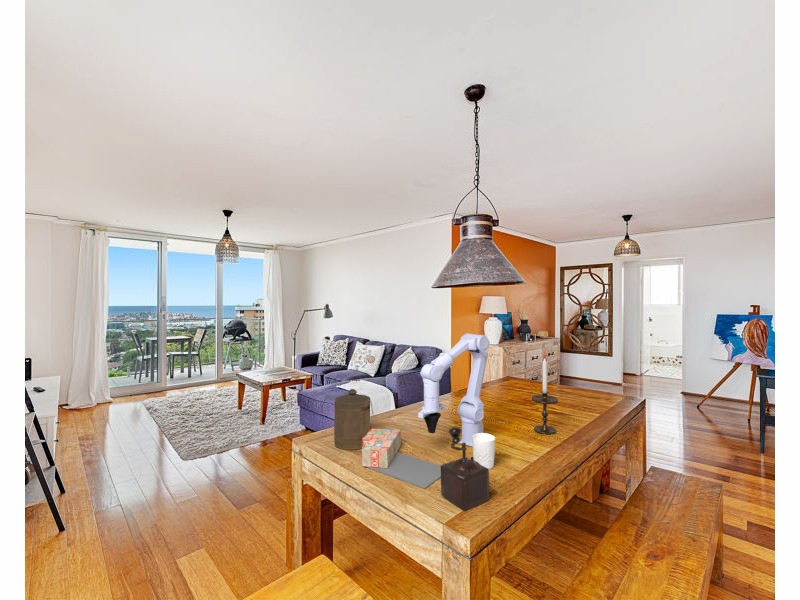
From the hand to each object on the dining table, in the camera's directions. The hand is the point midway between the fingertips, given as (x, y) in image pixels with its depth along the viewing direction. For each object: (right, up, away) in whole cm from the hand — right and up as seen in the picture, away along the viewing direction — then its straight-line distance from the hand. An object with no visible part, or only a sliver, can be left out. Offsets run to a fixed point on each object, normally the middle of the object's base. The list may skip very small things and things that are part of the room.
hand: (431, 432), depth 143 cm
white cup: (+18, -9, -9) cm, 22 cm away
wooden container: (-31, -9, +12) cm, 35 cm away
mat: (-9, -9, -11) cm, 17 cm away
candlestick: (+52, -8, +24) cm, 58 cm away
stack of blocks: (-14, -5, -1) cm, 15 cm away
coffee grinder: (+6, -9, -28) cm, 30 cm away
